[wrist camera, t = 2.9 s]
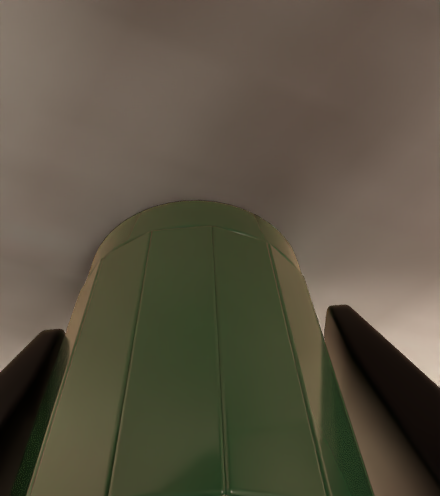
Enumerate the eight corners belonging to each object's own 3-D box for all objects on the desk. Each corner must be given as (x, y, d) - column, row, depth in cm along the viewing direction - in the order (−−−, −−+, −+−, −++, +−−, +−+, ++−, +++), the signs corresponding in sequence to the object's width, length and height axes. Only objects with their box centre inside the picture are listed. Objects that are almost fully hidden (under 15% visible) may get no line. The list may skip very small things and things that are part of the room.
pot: (296, 345, 11) (361, 604, 7) (116, 360, 11) (64, 627, 7) (307, 188, 8) (439, 476, 4) (59, 210, 8) (-106, 520, 4)
